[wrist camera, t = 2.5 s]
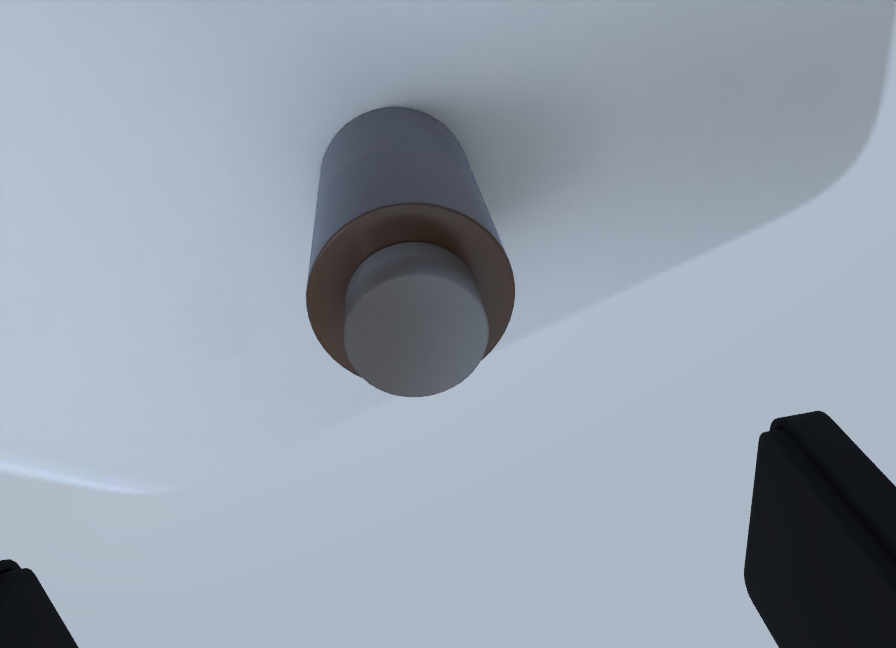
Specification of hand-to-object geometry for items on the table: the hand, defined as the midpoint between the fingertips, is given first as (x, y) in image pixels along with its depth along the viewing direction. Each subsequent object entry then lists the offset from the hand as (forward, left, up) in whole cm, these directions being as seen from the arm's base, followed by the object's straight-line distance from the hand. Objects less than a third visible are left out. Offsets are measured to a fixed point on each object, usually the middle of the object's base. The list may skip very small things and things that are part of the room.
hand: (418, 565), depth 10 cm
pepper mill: (0, 0, -14) cm, 14 cm away
